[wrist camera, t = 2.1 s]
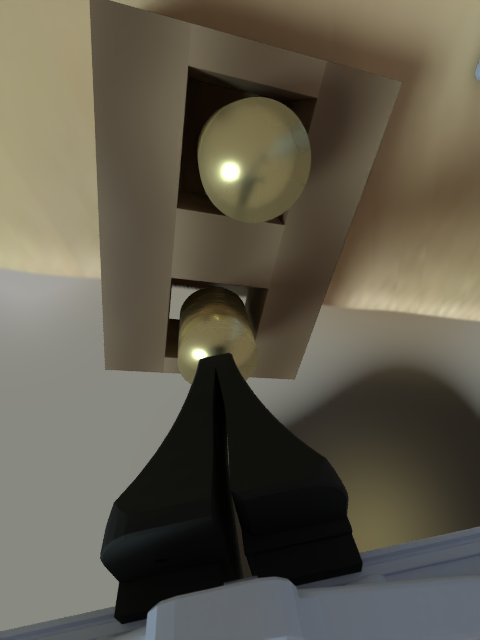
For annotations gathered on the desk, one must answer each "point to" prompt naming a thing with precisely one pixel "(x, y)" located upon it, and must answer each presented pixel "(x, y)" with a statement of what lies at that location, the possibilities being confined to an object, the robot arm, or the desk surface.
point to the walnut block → (197, 209)
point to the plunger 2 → (215, 331)
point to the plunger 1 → (253, 159)
